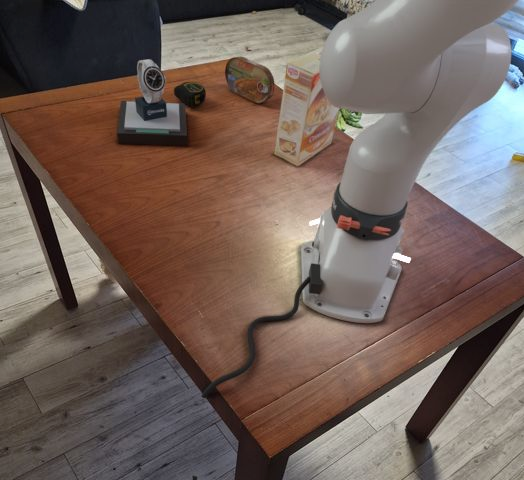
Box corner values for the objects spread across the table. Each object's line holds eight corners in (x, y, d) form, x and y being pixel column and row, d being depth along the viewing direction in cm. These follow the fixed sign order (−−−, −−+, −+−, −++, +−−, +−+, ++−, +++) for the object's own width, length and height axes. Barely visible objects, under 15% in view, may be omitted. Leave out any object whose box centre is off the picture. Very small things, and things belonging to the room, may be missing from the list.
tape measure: (172, 99, 118) (172, 83, 116) (195, 93, 122) (195, 78, 119) (188, 111, 116) (188, 95, 113) (210, 105, 119) (211, 89, 116)
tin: (223, 87, 126) (224, 52, 119) (231, 84, 127) (233, 49, 121) (266, 109, 121) (270, 74, 114) (274, 105, 122) (278, 70, 116)
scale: (187, 145, 106) (186, 132, 103) (118, 143, 103) (116, 130, 101) (185, 113, 115) (185, 100, 112) (122, 110, 112) (120, 97, 110)
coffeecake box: (298, 167, 105) (314, 74, 90) (272, 154, 107) (284, 61, 92) (332, 143, 113) (353, 54, 98) (308, 132, 115) (325, 43, 100)
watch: (147, 125, 104) (143, 71, 95) (133, 108, 108) (127, 55, 99) (171, 120, 106) (168, 68, 97) (156, 104, 110) (152, 52, 101)
